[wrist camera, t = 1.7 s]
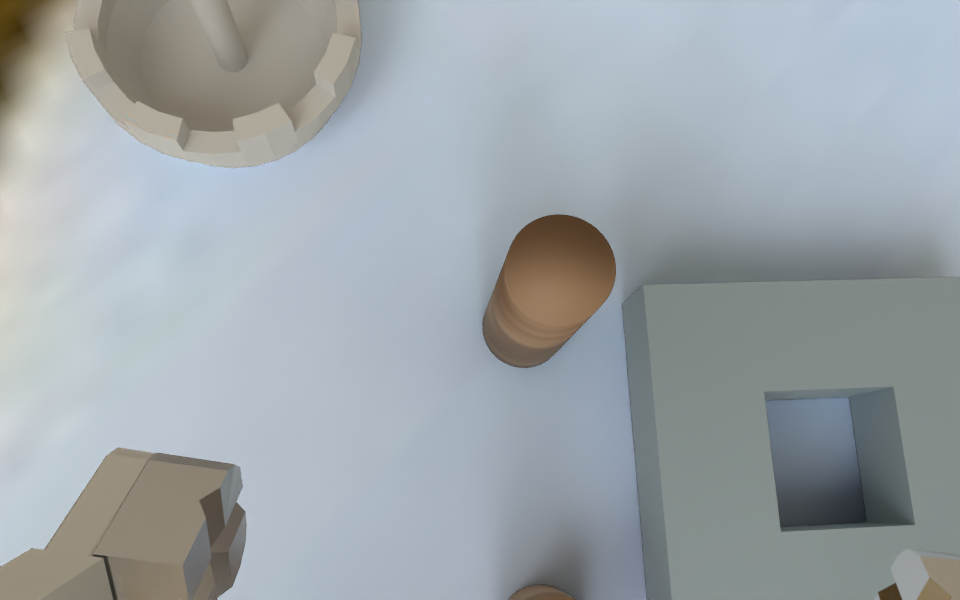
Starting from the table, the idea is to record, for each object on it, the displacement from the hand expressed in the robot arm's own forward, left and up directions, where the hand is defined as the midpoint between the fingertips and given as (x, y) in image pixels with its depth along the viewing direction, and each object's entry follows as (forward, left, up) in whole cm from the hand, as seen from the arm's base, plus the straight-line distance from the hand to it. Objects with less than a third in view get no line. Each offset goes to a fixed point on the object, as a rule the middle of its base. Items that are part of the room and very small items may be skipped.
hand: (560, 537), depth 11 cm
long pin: (+8, -4, -29) cm, 31 cm away
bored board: (+1, -17, -29) cm, 34 cm away
